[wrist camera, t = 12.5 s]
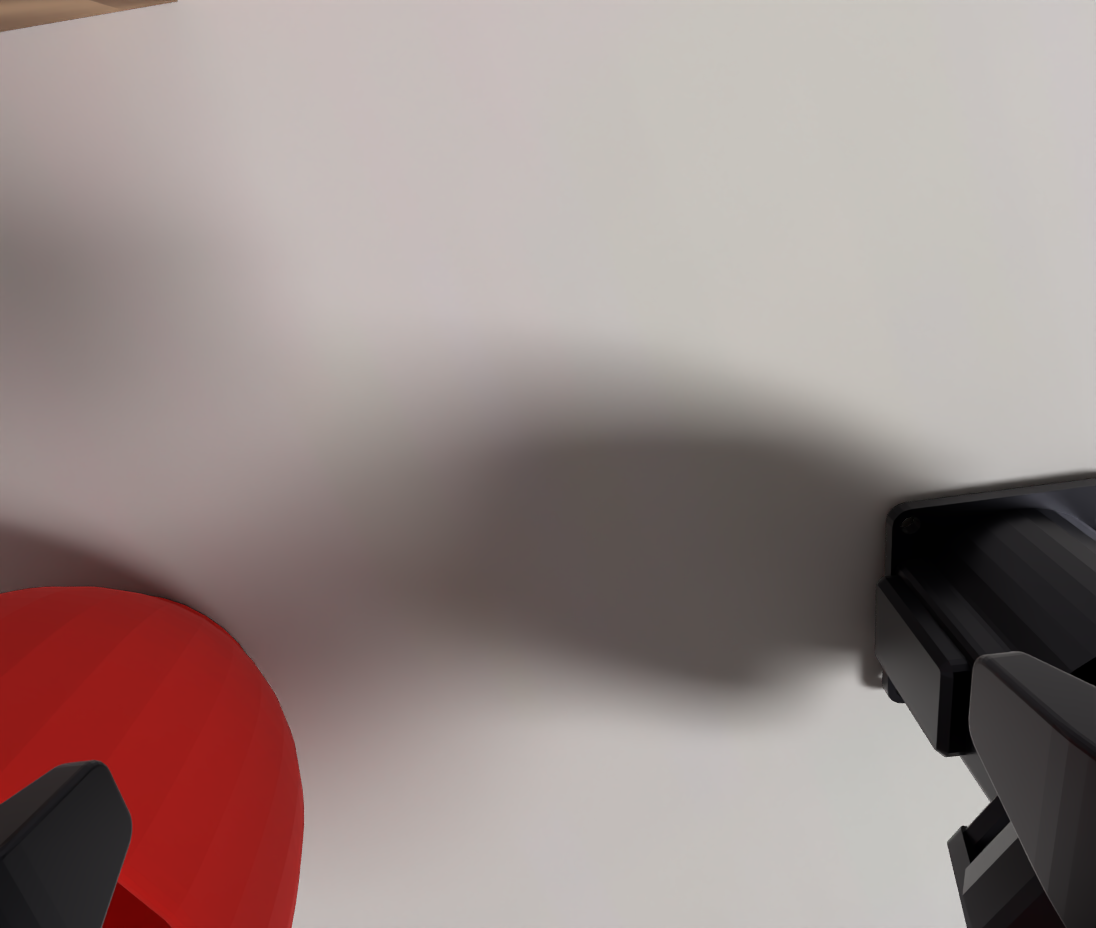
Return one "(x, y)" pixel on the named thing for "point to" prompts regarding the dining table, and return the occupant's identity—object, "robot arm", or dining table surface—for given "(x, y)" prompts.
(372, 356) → the dining table surface
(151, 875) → the ceramic cup
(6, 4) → the open wooden box
